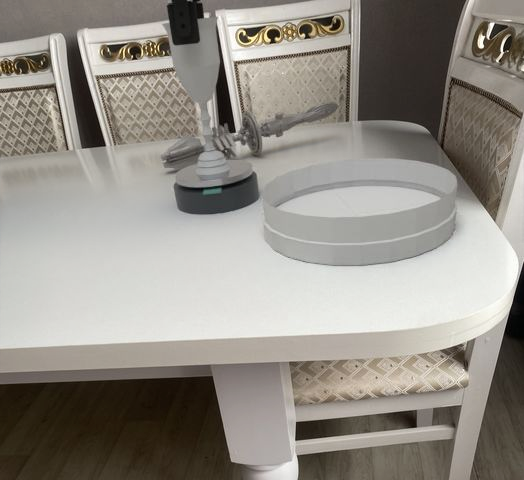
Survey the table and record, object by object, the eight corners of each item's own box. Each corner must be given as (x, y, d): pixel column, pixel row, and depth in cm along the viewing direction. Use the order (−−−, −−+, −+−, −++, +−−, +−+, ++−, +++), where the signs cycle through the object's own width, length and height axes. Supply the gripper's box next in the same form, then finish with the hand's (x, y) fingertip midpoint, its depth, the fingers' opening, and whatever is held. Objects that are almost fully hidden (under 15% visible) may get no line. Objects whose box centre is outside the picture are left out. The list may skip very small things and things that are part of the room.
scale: (171, 219, 71) (167, 196, 70) (182, 192, 82) (178, 172, 80) (259, 210, 71) (256, 186, 69) (258, 184, 81) (256, 163, 79)
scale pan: (171, 191, 70) (170, 185, 70) (180, 169, 79) (179, 164, 79) (252, 182, 70) (252, 176, 69) (253, 161, 79) (252, 156, 78)
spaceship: (350, 95, 93) (328, 75, 97) (165, 154, 86) (150, 129, 90) (346, 135, 100) (326, 114, 104) (174, 193, 93) (159, 168, 97)
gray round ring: (282, 280, 52) (277, 232, 49) (251, 211, 71) (247, 174, 68) (494, 244, 54) (501, 196, 51) (410, 187, 72) (411, 149, 70)
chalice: (206, 162, 78) (183, 20, 68) (246, 163, 75) (228, 15, 65) (178, 176, 73) (150, 25, 63) (220, 178, 70) (197, 19, 60)
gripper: (144, -122, 64) (170, 41, 73) (112, -160, 49) (149, 49, 58) (205, -130, 63) (224, 35, 73) (191, -170, 49) (216, 42, 58)
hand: (191, 41), depth 66 cm, fingers open, 9 cm apart
